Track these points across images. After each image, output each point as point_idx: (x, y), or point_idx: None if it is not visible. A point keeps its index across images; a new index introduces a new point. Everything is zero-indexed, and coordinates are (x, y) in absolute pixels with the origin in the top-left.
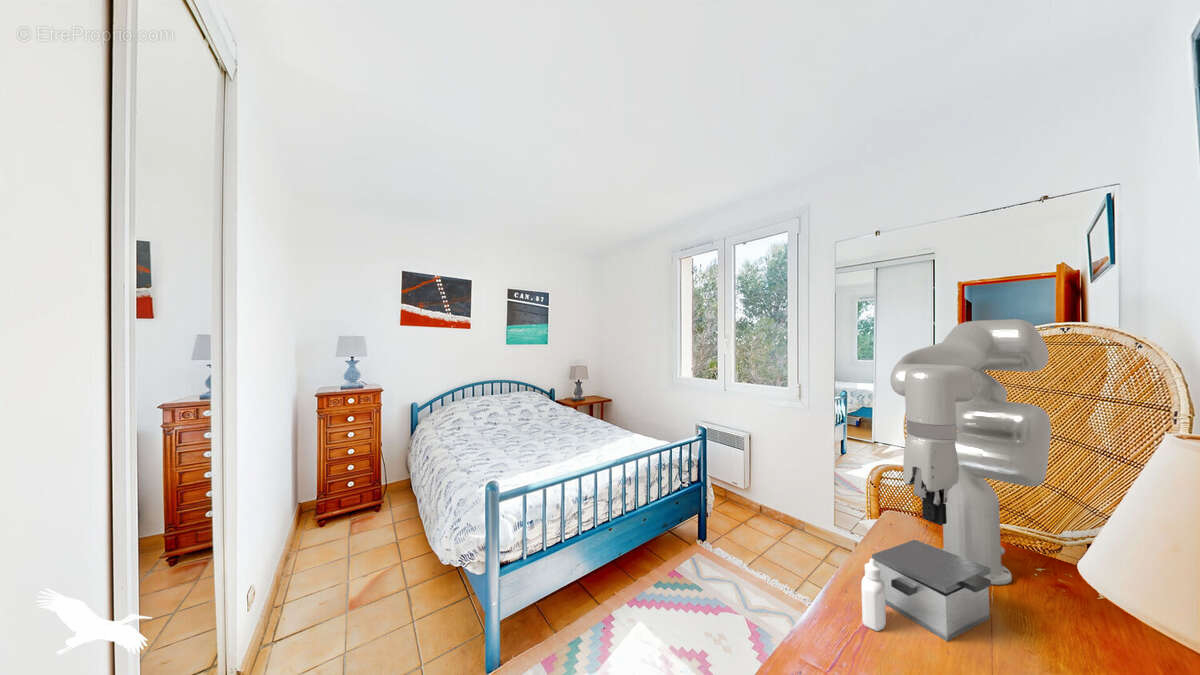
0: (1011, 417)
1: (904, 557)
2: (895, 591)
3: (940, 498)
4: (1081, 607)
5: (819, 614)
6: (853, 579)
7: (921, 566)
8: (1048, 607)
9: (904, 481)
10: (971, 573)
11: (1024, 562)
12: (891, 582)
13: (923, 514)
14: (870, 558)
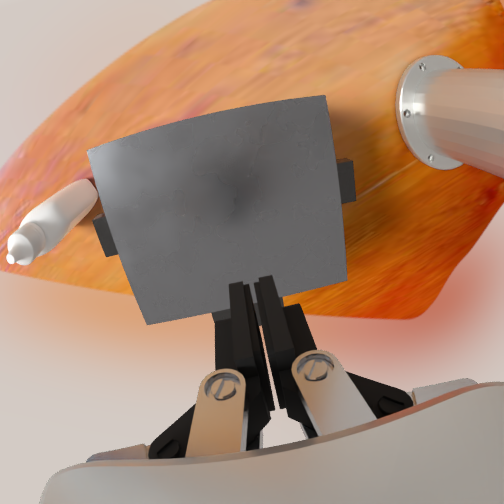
0: None
1: (171, 184)
2: None
3: (302, 421)
4: (459, 234)
5: (3, 175)
6: (135, 68)
7: (174, 239)
8: (426, 224)
9: (45, 491)
10: None
11: None
12: (93, 219)
13: (230, 297)
14: (8, 255)
